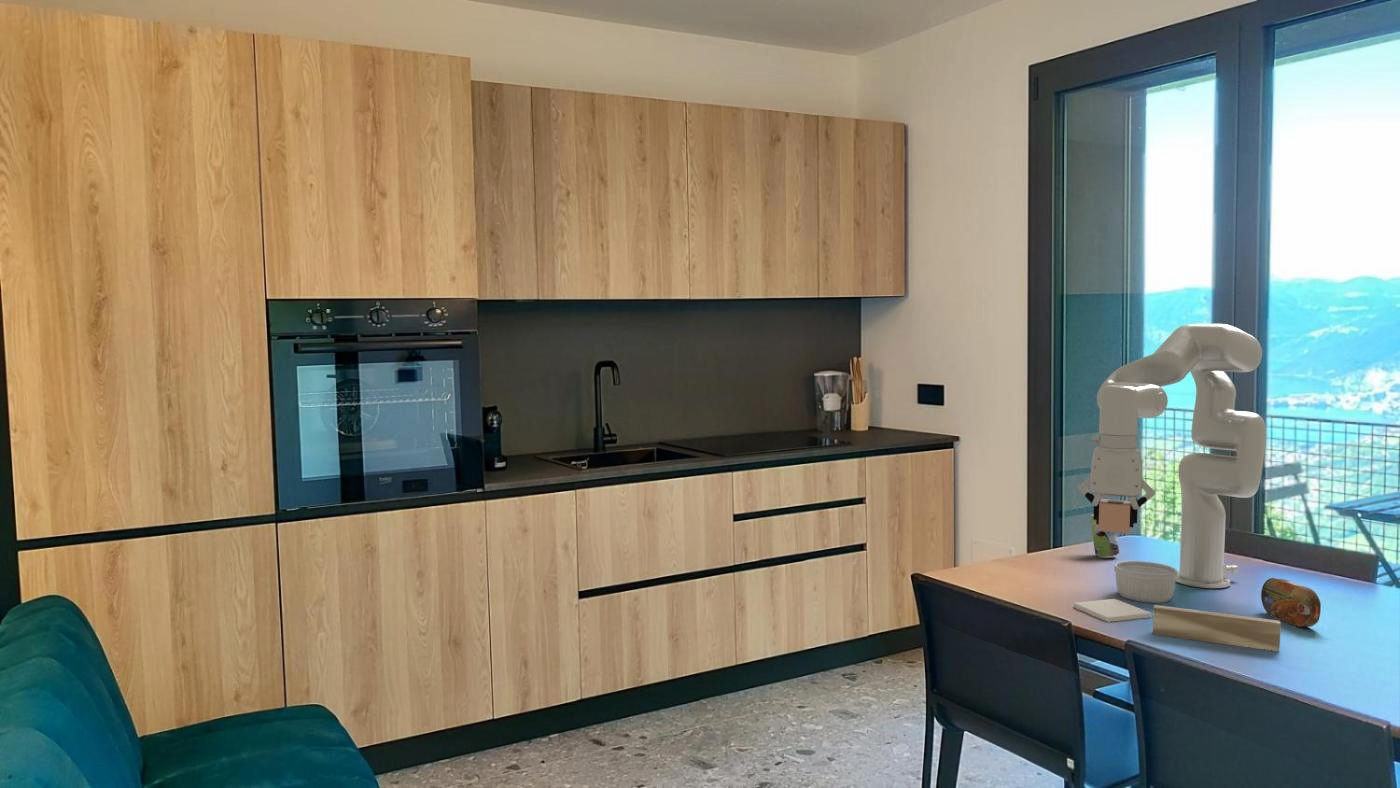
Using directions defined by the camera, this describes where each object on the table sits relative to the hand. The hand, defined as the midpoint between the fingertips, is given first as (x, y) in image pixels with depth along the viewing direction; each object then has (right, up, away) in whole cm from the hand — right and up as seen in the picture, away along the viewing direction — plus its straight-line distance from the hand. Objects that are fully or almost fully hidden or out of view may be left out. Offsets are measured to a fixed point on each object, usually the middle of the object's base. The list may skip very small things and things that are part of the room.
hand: (1114, 524), depth 206 cm
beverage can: (+20, -16, +51) cm, 57 cm away
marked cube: (0, -1, 0) cm, 1 cm away
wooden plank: (+12, -21, -18) cm, 30 cm away
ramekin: (+13, -19, +14) cm, 27 cm away
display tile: (0, -19, +2) cm, 20 cm away
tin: (+35, -20, -5) cm, 41 cm away
